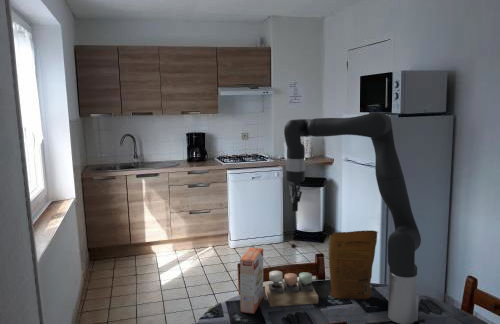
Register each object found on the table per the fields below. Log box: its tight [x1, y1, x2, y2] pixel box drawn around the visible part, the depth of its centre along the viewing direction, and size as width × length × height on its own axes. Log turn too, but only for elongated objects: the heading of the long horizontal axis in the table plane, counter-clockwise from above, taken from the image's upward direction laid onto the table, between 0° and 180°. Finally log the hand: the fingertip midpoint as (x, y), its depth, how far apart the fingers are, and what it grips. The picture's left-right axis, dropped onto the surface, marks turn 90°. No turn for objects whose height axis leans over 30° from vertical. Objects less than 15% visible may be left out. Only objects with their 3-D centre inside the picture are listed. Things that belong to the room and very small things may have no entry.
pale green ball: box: [298, 271, 313, 286], centre depth 164 cm, size 5×5×5 cm
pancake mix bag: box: [328, 230, 378, 300], centre depth 161 cm, size 7×19×28 cm, turn 86°
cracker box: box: [239, 247, 264, 315], centre depth 157 cm, size 14×6×21 cm, turn 164°
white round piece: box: [268, 270, 284, 286], centre depth 162 cm, size 5×5×5 cm
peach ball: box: [283, 272, 298, 287], centre depth 163 cm, size 5×5×5 cm
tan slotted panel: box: [264, 281, 319, 307], centre depth 163 cm, size 19×13×5 cm
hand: (294, 210), depth 167 cm, fingers closed
